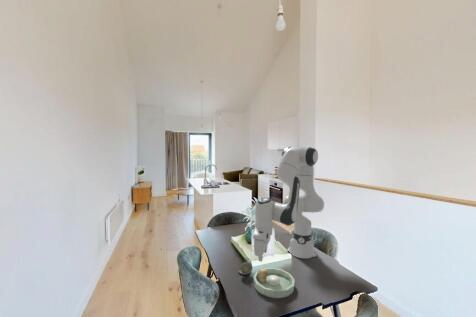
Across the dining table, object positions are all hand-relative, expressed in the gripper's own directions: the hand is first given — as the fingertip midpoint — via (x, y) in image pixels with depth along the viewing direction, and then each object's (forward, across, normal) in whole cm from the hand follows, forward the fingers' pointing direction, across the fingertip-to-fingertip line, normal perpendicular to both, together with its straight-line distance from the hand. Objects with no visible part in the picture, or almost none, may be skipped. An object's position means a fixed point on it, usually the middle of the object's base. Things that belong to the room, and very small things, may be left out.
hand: (262, 256), depth 118 cm
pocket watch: (+14, -4, -11) cm, 18 cm away
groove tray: (+14, +1, +6) cm, 15 cm away
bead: (+13, +1, 0) cm, 13 cm away
